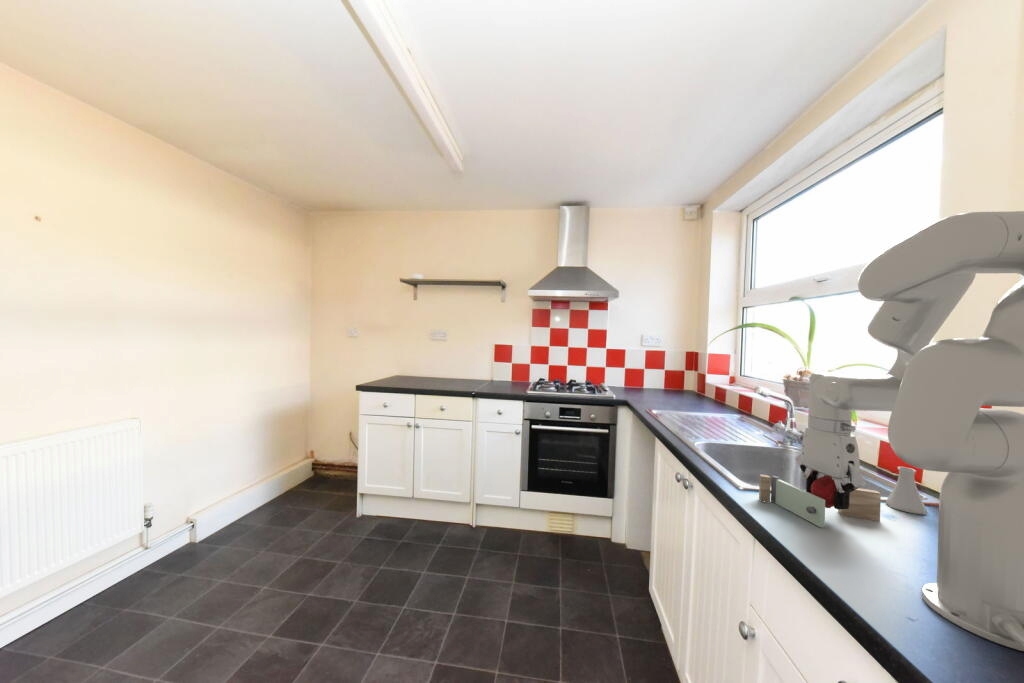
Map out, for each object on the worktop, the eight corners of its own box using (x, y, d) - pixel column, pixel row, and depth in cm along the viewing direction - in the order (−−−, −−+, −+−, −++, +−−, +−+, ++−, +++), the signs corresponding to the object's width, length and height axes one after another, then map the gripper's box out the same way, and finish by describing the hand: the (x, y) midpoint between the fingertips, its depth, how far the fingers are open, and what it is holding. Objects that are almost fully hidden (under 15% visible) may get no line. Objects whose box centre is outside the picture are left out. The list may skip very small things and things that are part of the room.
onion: (831, 515, 79) (832, 479, 79) (804, 503, 85) (805, 470, 85) (849, 512, 80) (851, 477, 80) (822, 501, 86) (823, 468, 86)
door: (816, 527, 78) (817, 499, 78) (766, 500, 91) (767, 476, 91) (825, 527, 78) (826, 498, 78) (774, 500, 91) (775, 475, 91)
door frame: (879, 521, 82) (880, 493, 82) (760, 501, 91) (761, 476, 91) (876, 518, 83) (876, 490, 83) (759, 498, 92) (759, 474, 92)
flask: (932, 518, 84) (933, 476, 84) (888, 509, 88) (889, 469, 88) (922, 507, 89) (923, 468, 89) (881, 499, 94) (882, 461, 94)
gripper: (886, 435, 74) (883, 520, 74) (807, 416, 91) (805, 485, 92) (855, 435, 73) (852, 521, 74) (781, 416, 90) (779, 486, 91)
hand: (826, 501), depth 83 cm, fingers closed on onion, 5 cm apart
